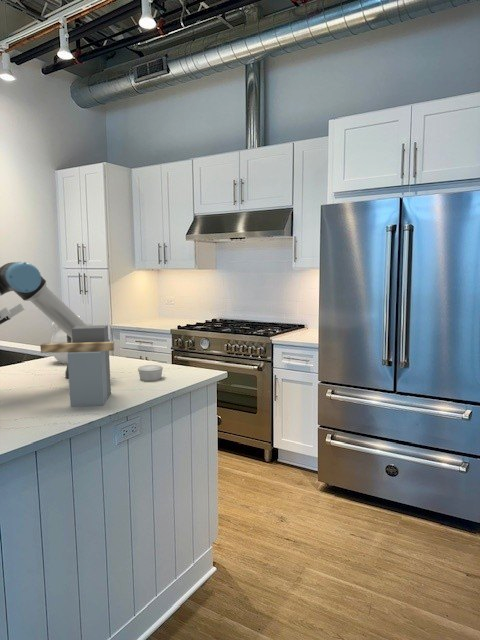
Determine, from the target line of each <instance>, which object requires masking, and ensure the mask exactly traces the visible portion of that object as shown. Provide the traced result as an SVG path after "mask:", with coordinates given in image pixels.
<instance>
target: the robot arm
mask: <svg viewBox="0 0 480 640" xmlns="http://www.w3.org/2000/svg"><path fill="white" fill-rule="evenodd" d="M9 292H14V293H15V294H16V295H17V296H18V297H19V298H21V300H23V301H24V302H25V301H26V302H27V301H28V302H29V301H30V302H31V304H33V305H35V307H36V308H38V310H40V311H41V312H42V313H43V314H44V315H45V316H47V318H49V320H50V321H52V322H54V323H55V324H54V325H56V326H57V327H60V328H61V329H62V330H63V331H64V332H65V333H66V334H67V343H73V342H72V328H74V327H76V326H93V324H92V323H91V324H90V323H85V321H84V320H83V319H81V318H79V317H78V316H77V315H78V314H76V313H75V312H74V311H73V310H72V309H71V308H69V306H67V304H66V303H64V301H62V300H61V299H60V298H59V297H58V296H57V295H56V294H55V292H53V291H52V290H51V289H50V288H49V287H48V286H47V280H46V279H44V277H43V276H42V275H41V272H40V270H39V269H38V267H36V266H35V265H34V264H32V263H29V262H26V261H17V262H15V261H14V262H7V263H5V264H3V265H2V266H0V297H1V296H3V295H5V294H7V293H9ZM25 310H26V309H25V307H23V305H22V304H21V303H18V304H17V305H15V306H14V307H12V308H10V309H8V307H4V308H2V309H0V325H2V324H3V323H5V322H7V321H10V320H11V319H12V318H14V317H15V316H16V315H18V314H20V313H21V312H23V311H25ZM82 320H83V321H82ZM108 340H109V342H111V340H110V338H109V337H108ZM68 353H69V352H68ZM64 373H65V374H64V375H65V378H66V379H68V380H69V373H68V364H66V369H65V372H64Z"/></svg>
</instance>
